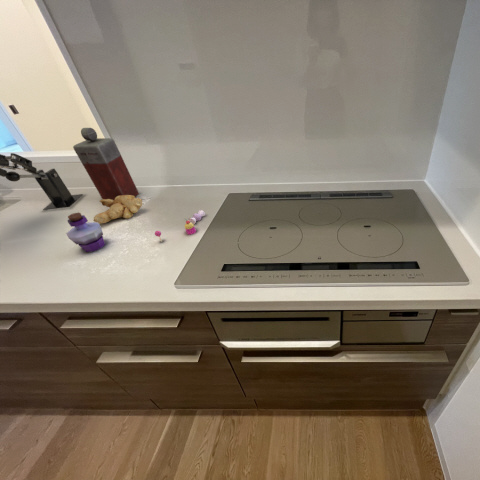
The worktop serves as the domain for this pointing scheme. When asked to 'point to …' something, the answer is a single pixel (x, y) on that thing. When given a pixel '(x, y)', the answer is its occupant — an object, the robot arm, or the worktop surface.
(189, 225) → the pink and purple pieces
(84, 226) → the potion bottle
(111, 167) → the red square bottle
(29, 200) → the worktop surface
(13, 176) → the tap lever
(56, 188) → the lever switch
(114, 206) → the ginger root
